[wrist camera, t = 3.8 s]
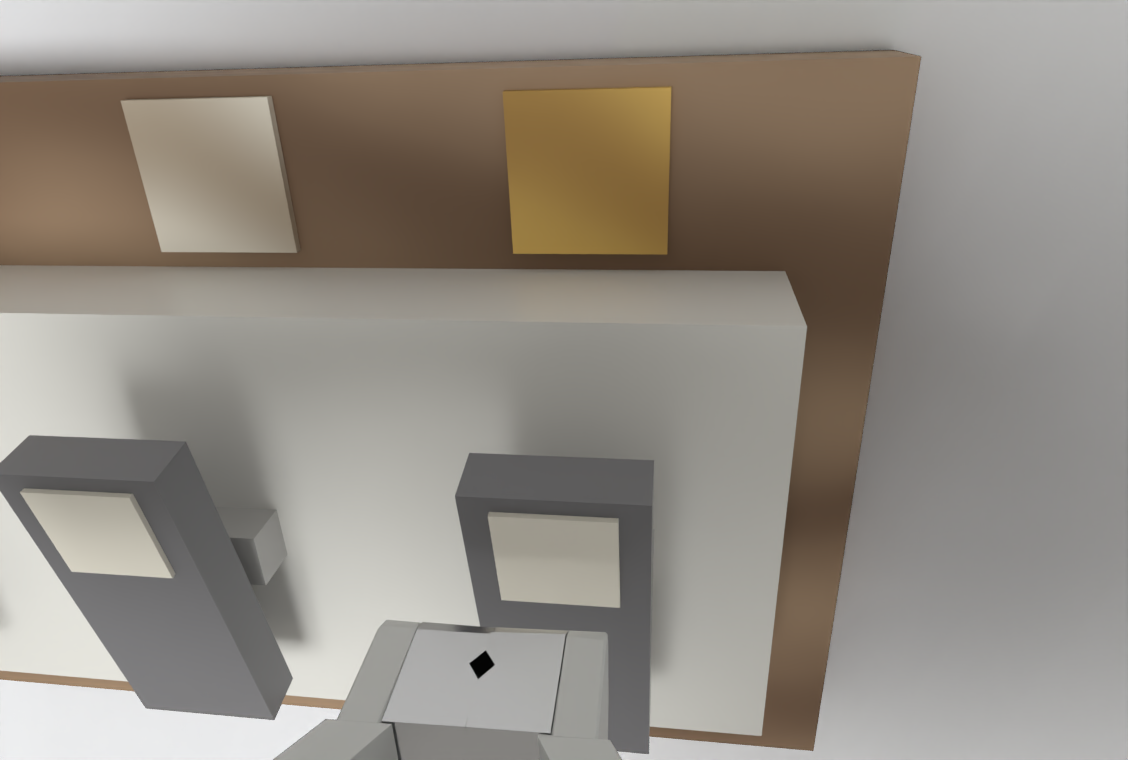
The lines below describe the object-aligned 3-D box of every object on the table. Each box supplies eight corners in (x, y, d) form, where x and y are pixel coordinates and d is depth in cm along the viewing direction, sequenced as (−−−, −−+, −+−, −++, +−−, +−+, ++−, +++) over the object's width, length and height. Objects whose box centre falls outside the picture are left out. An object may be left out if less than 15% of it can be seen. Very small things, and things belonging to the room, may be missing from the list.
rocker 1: (293, 678, 17) (272, 724, 16) (170, 668, 18) (143, 712, 17) (185, 441, 13) (150, 485, 12) (29, 435, 14) (-16, 477, 13)
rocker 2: (650, 707, 16) (648, 758, 15) (510, 696, 17) (501, 745, 16) (653, 460, 12) (651, 510, 11) (469, 452, 13) (452, 500, 12)
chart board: (803, 693, 23) (814, 757, 21) (-18, 629, 27) (-72, 677, 25) (893, 50, 16) (924, 57, 14) (-281, 84, 19) (-390, 93, 17)
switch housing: (750, 638, 20) (766, 775, 17) (-60, 581, 23) (-193, 686, 20) (785, 271, 16) (816, 350, 12) (-219, 263, 19) (-426, 324, 15)
